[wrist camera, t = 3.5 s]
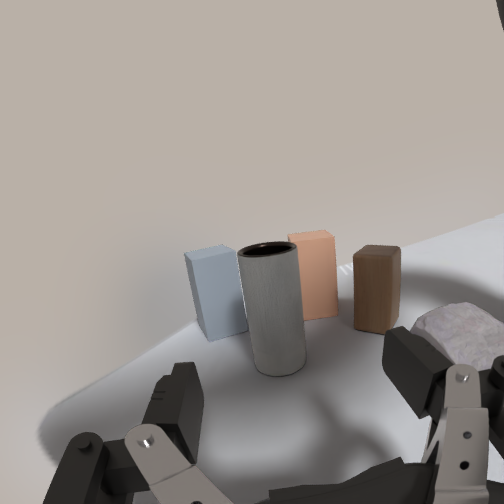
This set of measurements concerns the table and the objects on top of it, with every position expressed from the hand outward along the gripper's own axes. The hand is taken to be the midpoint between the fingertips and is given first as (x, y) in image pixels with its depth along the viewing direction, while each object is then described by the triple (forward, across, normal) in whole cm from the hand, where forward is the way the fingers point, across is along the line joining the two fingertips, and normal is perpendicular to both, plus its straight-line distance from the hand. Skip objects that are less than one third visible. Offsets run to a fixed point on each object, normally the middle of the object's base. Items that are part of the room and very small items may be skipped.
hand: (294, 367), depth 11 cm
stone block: (+4, -16, +8) cm, 19 cm away
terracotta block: (+21, -6, +8) cm, 23 cm away
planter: (+12, 0, +8) cm, 14 cm away
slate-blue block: (+20, +5, +8) cm, 22 cm away
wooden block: (+14, -11, +8) cm, 20 cm away
